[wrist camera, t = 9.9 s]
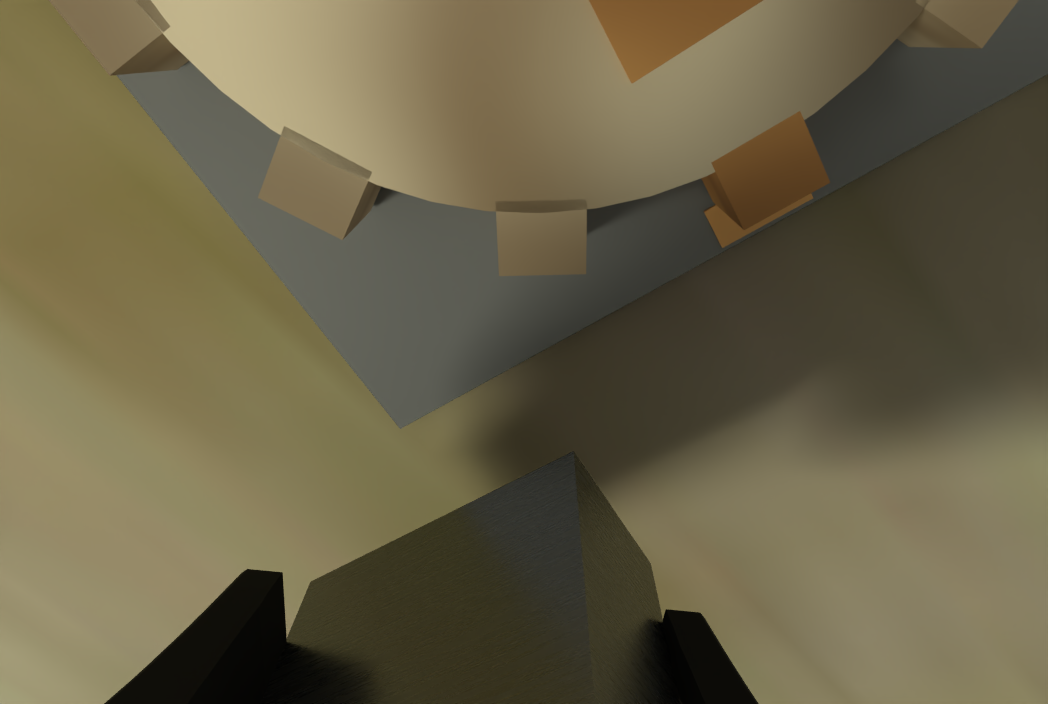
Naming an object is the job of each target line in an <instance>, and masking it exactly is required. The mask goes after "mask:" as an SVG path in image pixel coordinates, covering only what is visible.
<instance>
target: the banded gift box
mask: <svg viewBox="0 0 1048 704" xmlns="http://www.w3.org/2000/svg"><path fill="white" fill-rule="evenodd" d="M662 622H663V619H662V614H661V609H660V604H659V600H658V595H657V590H656V586H655V581H654V576H653V572H652V567H651V563H650V562H649V560H648V559H647V557H646V556H645V555H644V553H643V552H642V550H641V549H640V547H639V546H638V544H637V543H636V542H635V540H634V539H633V537H632V536H631V534H630V533H629V531H628V530H627V528H626V527H625V526H624V524H623V523H622V521H621V520H620V518H619V517H618V515H617V514H616V512H615V511H614V510H613V508H612V507H611V505H610V504H609V502H608V501H607V499H606V498H605V496H604V495H603V494H602V492H601V491H600V489H599V488H598V486H597V485H596V483H595V482H594V481H593V479H592V478H591V476H590V475H589V473H588V472H587V470H586V469H585V467H584V466H583V465H582V463H581V462H580V460H579V459H578V457H577V456H576V454H575V453H574V451H573V452H571V453H569V454H567V455H565V456H563V457H561V458H559V459H557V460H555V461H553V462H551V463H549V464H547V465H545V466H543V467H541V468H539V469H537V470H535V471H533V472H531V473H529V474H527V475H525V476H523V477H521V478H519V479H517V480H515V481H513V482H511V483H509V484H507V485H505V486H503V487H501V488H498V489H496V490H494V491H492V492H490V493H488V494H486V495H484V496H482V497H480V498H478V499H476V500H474V501H472V502H470V503H468V504H466V505H464V506H462V507H460V508H458V509H456V510H454V511H452V512H450V513H448V514H446V515H444V516H442V517H440V518H438V519H436V520H434V521H432V522H430V523H428V524H426V525H424V526H422V527H420V528H418V529H416V530H414V531H412V532H410V533H408V534H406V535H404V536H402V537H400V538H398V539H396V540H394V541H392V542H390V543H388V544H386V545H384V546H382V547H380V548H378V549H376V550H374V551H372V552H370V553H368V554H366V555H364V556H362V557H360V558H358V559H356V560H354V561H352V562H350V563H348V564H346V565H343V566H341V567H339V568H337V569H335V570H333V571H331V572H329V573H327V574H325V575H323V576H321V577H319V578H317V579H315V580H313V581H311V582H310V584H309V587H308V589H307V591H306V594H305V596H304V599H303V601H302V603H301V606H300V608H299V611H298V613H297V615H296V618H295V620H294V623H293V625H292V627H291V630H290V632H289V634H288V637H287V642H286V645H285V647H284V649H283V652H282V654H281V657H280V659H279V661H278V664H277V666H276V669H275V671H274V673H273V676H272V678H271V681H270V683H269V685H268V688H267V690H266V692H265V694H264V696H263V699H262V701H261V703H260V704H681V703H680V698H679V694H678V690H677V686H676V682H675V678H674V674H673V670H672V666H671V661H670V656H669V651H668V647H667V642H666V637H665V633H664V628H663V623H662Z"/></svg>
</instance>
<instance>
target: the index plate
mask: <svg viewBox="0 0 1048 704" xmlns="http://www.w3.org/2000/svg"><path fill="white" fill-rule="evenodd" d="M1047 74H1048V0H1018V2H1017V3H1016V4H1015V6H1014V7H1013V8H1012V10H1011V11H1010V12H1009V14H1008V15H1007V16H1006V18H1005V19H1004V20H1003V22H1002V23H1001V24H1000V25H999V27H998V28H997V29H996V31H995V32H994V33H993V35H992V36H991V37H990V39H989V40H988V41H987V43H986V44H985V45H984V47H983V48H935V47H908V46H907V45H905V44H904V43H902V42H901V41H899V40H898V39H896V40H895V41H894V42H893V43H892V44H891V45H890V46H889V47H888V48H887V49H886V50H885V51H884V52H883V53H882V54H881V55H880V56H879V57H878V58H877V59H876V60H875V62H874V63H873V64H872V65H871V66H870V67H869V68H868V69H867V70H866V71H865V72H863V73H862V74H861V75H860V76H859V77H857V78H856V79H855V80H854V81H853V82H851V83H850V84H849V85H848V86H847V87H845V88H844V89H843V90H842V91H841V92H839V93H838V94H837V95H836V96H835V97H833V98H832V99H831V100H830V101H829V102H827V103H826V104H825V105H824V106H823V107H821V108H820V109H819V110H818V111H817V112H815V113H814V114H813V115H811V116H810V117H808V118H807V119H805V120H804V121H805V124H806V126H807V128H808V131H809V133H810V135H811V138H812V140H813V143H814V145H815V147H816V150H817V152H818V154H819V157H820V159H821V162H822V164H823V166H824V169H825V171H826V173H827V176H828V178H829V181H830V183H829V184H827V185H825V186H823V187H821V188H820V189H818V190H816V191H814V192H812V193H811V194H809V195H807V196H805V197H803V198H802V199H800V200H798V201H796V202H794V203H793V204H791V205H789V206H787V207H785V208H784V209H782V210H780V211H778V212H776V213H774V214H773V215H771V216H769V217H767V218H765V219H764V220H762V221H760V222H758V223H756V224H755V225H753V226H751V227H749V228H747V229H746V230H743V229H742V228H741V227H740V226H739V225H738V224H737V223H736V222H734V221H733V220H732V219H731V218H730V217H729V216H728V215H727V214H726V213H725V212H723V211H722V210H721V209H720V208H719V207H718V206H717V205H716V204H715V203H714V202H713V201H712V199H711V197H710V195H709V193H708V191H707V189H706V187H705V185H704V183H703V181H702V179H698V180H695V181H692V182H689V183H687V184H684V185H681V186H678V187H675V188H673V189H670V190H667V191H664V192H662V193H659V194H656V195H653V196H650V197H645V198H641V199H636V200H632V201H627V202H623V203H618V204H614V205H609V206H605V207H600V208H595V209H587V242H586V274H571V275H527V276H499V264H498V243H497V222H496V212H495V211H482V210H477V209H471V208H465V207H459V206H453V205H447V204H442V203H436V202H431V201H427V200H424V199H421V198H418V197H414V196H411V195H408V194H404V193H401V192H398V191H395V190H391V189H388V188H385V187H382V186H381V189H380V191H379V193H378V195H377V198H376V200H375V202H374V204H373V207H372V209H371V211H370V212H369V213H368V214H367V215H366V216H365V217H364V218H363V219H362V220H361V221H360V222H359V224H358V225H357V226H356V227H355V228H354V229H353V230H352V231H351V232H350V233H349V234H348V235H347V236H346V237H345V238H344V239H343V240H341V239H339V238H337V237H335V236H333V235H331V234H329V233H327V232H325V231H323V230H321V229H319V228H317V227H315V226H313V225H311V224H309V223H307V222H305V221H303V220H301V219H299V218H297V217H295V216H293V215H291V214H289V213H287V212H285V211H283V210H281V209H279V208H277V207H275V206H273V205H271V204H269V203H267V202H265V201H263V200H261V199H259V198H258V196H259V193H260V190H261V188H262V185H263V182H264V179H265V177H266V174H267V171H268V169H269V166H270V163H271V160H272V158H273V155H274V152H275V150H276V147H277V144H278V141H279V139H280V136H281V135H279V134H278V133H276V132H274V131H273V130H271V129H270V128H269V127H267V126H266V125H265V124H263V123H262V122H261V121H259V120H258V119H257V118H256V117H254V116H253V115H252V114H250V113H249V112H248V111H246V110H245V109H244V108H243V107H241V106H240V105H239V104H237V103H236V102H235V101H233V100H232V99H231V98H230V97H228V96H227V95H226V94H224V93H223V92H222V91H220V90H219V89H218V88H217V87H216V86H215V85H214V84H213V83H212V82H211V81H210V80H209V79H208V78H207V77H206V76H205V75H204V74H203V73H202V72H201V71H200V70H199V69H198V68H196V67H195V66H194V65H193V64H192V63H191V62H190V61H188V62H187V63H185V64H184V65H183V66H181V67H180V68H179V69H178V70H170V71H158V72H146V73H134V74H122V75H117V76H118V78H119V79H120V80H121V81H122V83H123V84H124V85H125V86H126V88H127V89H128V90H129V91H130V93H131V94H132V95H133V96H134V98H135V99H136V100H137V101H138V102H139V104H140V105H141V106H142V107H143V109H144V110H145V111H146V112H147V114H148V115H149V116H150V117H151V119H152V120H153V121H154V122H155V124H156V125H157V126H158V127H159V129H160V130H161V131H162V132H163V134H164V135H165V136H166V137H167V139H168V140H169V141H170V142H171V144H172V145H173V146H174V147H175V149H176V150H177V151H178V152H179V154H180V155H181V156H182V157H183V159H184V160H185V161H186V162H187V164H188V165H189V166H190V167H191V169H192V170H193V171H194V172H195V174H196V175H197V176H198V177H199V179H200V180H201V181H202V182H203V184H204V185H205V186H206V187H207V189H208V190H209V191H210V192H211V194H212V195H213V196H214V197H215V199H216V200H217V201H218V202H219V204H220V205H221V206H222V207H223V208H224V210H225V211H226V212H227V213H228V215H229V216H230V217H231V218H232V220H233V221H234V222H235V223H236V225H237V226H238V227H239V228H240V230H241V231H242V232H243V233H244V235H245V236H246V237H247V238H248V240H249V241H250V242H251V243H252V245H253V246H254V247H255V248H256V250H257V251H258V252H259V253H260V255H261V256H262V257H263V258H264V260H265V261H266V262H267V263H268V265H269V266H270V267H271V268H272V270H273V271H274V272H275V273H276V275H277V276H278V277H279V278H280V280H281V281H282V282H283V283H284V285H285V286H286V287H287V288H288V290H289V291H290V292H291V293H292V295H293V296H294V297H295V298H296V300H297V301H298V302H299V303H300V305H301V306H302V307H303V308H304V310H305V311H306V312H307V313H308V314H309V316H310V317H311V318H312V319H313V321H314V322H315V323H316V324H317V326H318V327H319V328H320V329H321V331H322V332H323V333H324V334H325V336H326V337H327V338H328V339H329V341H330V342H331V343H332V344H333V346H334V347H335V348H336V349H337V351H338V352H339V353H340V354H341V356H342V357H343V358H344V359H345V361H346V362H347V363H348V364H349V366H350V367H351V368H352V369H353V371H354V372H355V373H356V374H357V376H358V377H359V378H360V379H361V381H362V382H363V383H364V384H365V386H366V387H367V388H368V389H369V391H370V392H371V393H372V394H373V396H374V397H375V398H376V399H377V401H378V402H379V403H380V404H381V406H382V407H383V408H384V409H385V411H386V412H387V413H388V414H389V416H390V417H391V418H392V419H393V420H394V422H395V423H396V424H397V425H398V427H399V428H400V429H401V428H402V427H404V426H406V425H408V424H410V423H412V422H413V421H415V420H417V419H419V418H421V417H423V416H424V415H426V414H428V413H430V412H432V411H434V410H435V409H437V408H439V407H441V406H443V405H445V404H446V403H448V402H450V401H452V400H454V399H455V398H457V397H459V396H461V395H463V394H465V393H466V392H468V391H470V390H472V389H474V388H476V387H477V386H479V385H481V384H483V383H485V382H487V381H488V380H490V379H492V378H494V377H496V376H497V375H499V374H501V373H503V372H505V371H507V370H508V369H510V368H512V367H514V366H516V365H518V364H519V363H521V362H523V361H525V360H527V359H529V358H530V357H532V356H534V355H536V354H538V353H539V352H541V351H543V350H545V349H547V348H549V347H550V346H552V345H554V344H556V343H558V342H560V341H561V340H563V339H565V338H567V337H569V336H571V335H572V334H574V333H576V332H578V331H580V330H582V329H583V328H585V327H587V326H589V325H591V324H592V323H594V322H596V321H598V320H600V319H602V318H603V317H605V316H607V315H609V314H611V313H613V312H614V311H616V310H618V309H620V308H622V307H624V306H625V305H627V304H629V303H631V302H633V301H634V300H636V299H638V298H640V297H642V296H644V295H645V294H647V293H649V292H651V291H653V290H655V289H656V288H658V287H660V286H662V285H664V284H666V283H667V282H669V281H671V280H673V279H675V278H676V277H678V276H680V275H682V274H684V273H686V272H687V271H689V270H691V269H693V268H695V267H697V266H698V265H700V264H702V263H704V262H706V261H708V260H709V259H711V258H713V257H715V256H717V255H719V254H720V253H722V252H724V251H726V250H728V249H729V248H731V247H733V246H735V245H737V244H739V243H740V242H742V241H744V240H746V239H748V238H750V237H751V236H753V235H755V234H757V233H759V232H761V231H762V230H764V229H766V228H768V227H770V226H771V225H773V224H775V223H777V222H779V221H781V220H782V219H784V218H786V217H788V216H790V215H792V214H793V213H795V212H797V211H799V210H801V209H803V208H804V207H806V206H808V205H810V204H812V203H814V202H815V201H817V200H819V199H821V198H823V197H824V196H826V195H828V194H830V193H832V192H834V191H835V190H837V189H839V188H841V187H843V186H845V185H846V184H848V183H850V182H852V181H854V180H856V179H857V178H859V177H861V176H863V175H865V174H866V173H868V172H870V171H872V170H874V169H876V168H877V167H879V166H881V165H883V164H885V163H887V162H888V161H890V160H892V159H894V158H896V157H898V156H899V155H901V154H903V153H905V152H907V151H908V150H910V149H912V148H914V147H916V146H918V145H919V144H921V143H923V142H925V141H927V140H929V139H930V138H932V137H934V136H936V135H938V134H940V133H941V132H943V131H945V130H947V129H949V128H951V127H952V126H954V125H956V124H958V123H960V122H961V121H963V120H965V119H967V118H969V117H971V116H972V115H974V114H976V113H978V112H980V111H982V110H983V109H985V108H987V107H989V106H991V105H993V104H994V103H996V102H998V101H1000V100H1002V99H1003V98H1005V97H1007V96H1009V95H1011V94H1013V93H1014V92H1016V91H1018V90H1020V89H1022V88H1024V87H1025V86H1027V85H1029V84H1031V83H1033V82H1035V81H1036V80H1038V79H1040V78H1042V77H1044V76H1045V75H1047Z"/></svg>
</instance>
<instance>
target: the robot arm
mask: <svg viewBox="0 0 1048 704" xmlns="http://www.w3.org/2000/svg"><path fill="white" fill-rule="evenodd" d="M662 623H663V628H664V633H665V637H666V642H667V647H668V651H669V656H670V661H671V666H672V670H673V674H674V678H675V682H676V686H677V690H678V694H679V698H680V703H681V704H758V702H757V701H756V699H755V698H754V696H753V695H752V693H751V692H750V690H749V689H748V687H747V686H746V684H745V682H744V681H743V679H742V678H741V676H740V675H739V673H738V671H737V670H736V668H735V667H734V665H733V664H732V662H731V660H730V659H729V657H728V656H727V654H726V652H725V651H724V649H723V648H722V646H721V644H720V643H719V641H718V639H717V638H716V636H715V634H714V633H713V631H712V630H711V628H710V626H709V625H708V623H707V621H706V620H705V618H704V617H703V616H702V614H701V613H698V612H688V611H677V610H667V609H666V611H665V614H664V618H663V622H662ZM286 642H287V639H286V623H285V606H284V589H283V573H282V572H272V571H261V570H251V569H247V570H245V571H244V572H243V573H241V574H240V575H239V576H238V577H237V578H236V579H235V580H234V581H233V582H232V583H231V584H230V585H229V586H228V587H227V588H226V590H225V591H224V592H223V593H222V594H221V595H220V596H219V597H218V598H217V599H216V600H215V601H214V602H213V603H212V604H211V605H210V606H209V607H208V608H207V609H206V610H205V611H204V612H203V613H202V614H201V615H200V616H199V617H198V618H197V619H196V620H195V621H194V622H193V623H192V624H191V625H190V626H189V627H188V628H187V629H186V630H185V631H184V632H183V633H181V634H180V635H179V636H178V637H177V638H176V639H175V640H174V641H173V642H172V643H171V644H170V645H169V646H168V647H167V648H166V649H165V650H163V651H162V652H161V653H160V654H159V655H158V656H157V657H156V658H155V659H154V660H153V661H152V662H151V663H150V664H149V665H148V666H146V667H145V668H144V669H143V670H142V671H141V672H140V673H139V674H138V675H137V676H136V677H134V678H133V679H132V680H131V681H130V682H129V683H128V684H126V685H125V686H124V687H123V688H122V689H121V690H119V691H118V692H117V693H116V694H115V695H114V696H113V697H111V698H110V699H109V700H108V701H107V702H106V703H104V704H260V703H261V701H262V699H263V696H264V694H265V692H266V690H267V688H268V685H269V683H270V681H271V678H272V676H273V673H274V671H275V669H276V666H277V664H278V661H279V659H280V657H281V654H282V652H283V649H284V647H285V645H286Z"/></svg>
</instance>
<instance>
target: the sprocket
mask: <svg viewBox="0 0 1048 704" xmlns="http://www.w3.org/2000/svg"><path fill="white" fill-rule="evenodd" d="M49 1H50V2H51V4H52V5H53V6H54V7H55V9H56V10H57V11H58V12H59V14H60V15H61V16H62V17H63V19H64V20H65V21H66V22H67V23H68V25H69V26H70V27H71V28H72V30H73V31H74V32H75V33H76V35H77V36H78V37H79V38H80V40H81V41H82V42H83V43H84V45H85V46H86V47H87V48H88V49H89V51H90V52H91V53H92V54H93V56H94V57H95V58H96V59H97V61H98V62H99V63H100V64H101V66H102V67H103V68H104V69H105V70H106V72H107V73H108V74H109V75H122V74H134V73H146V72H158V71H170V70H178V69H179V68H180V67H181V66H183V65H184V64H185V63H187V62H188V61H190V62H191V63H192V64H193V65H194V66H195V67H196V68H198V69H199V70H200V71H201V72H202V73H203V74H204V75H205V76H206V77H207V78H208V79H209V80H210V81H211V82H212V83H213V84H214V85H215V86H216V87H217V88H218V89H219V90H220V91H222V92H223V93H224V94H226V95H227V96H228V97H230V98H231V99H232V100H233V101H235V102H236V103H237V104H239V105H240V106H241V107H243V108H244V109H245V110H246V111H248V112H249V113H250V114H252V115H253V116H254V117H256V118H257V119H258V120H259V121H261V122H262V123H263V124H265V125H266V126H267V127H269V128H270V129H271V130H273V131H274V132H276V133H278V134H279V135H281V136H280V139H279V141H278V144H277V147H276V150H275V152H274V155H273V158H272V160H271V163H270V166H269V169H268V171H267V174H266V177H265V179H264V182H263V185H262V188H261V190H260V193H259V196H258V198H259V199H261V200H263V201H265V202H267V203H269V204H271V205H273V206H275V207H277V208H279V209H281V210H283V211H285V212H287V213H289V214H291V215H293V216H295V217H297V218H299V219H301V220H303V221H305V222H307V223H309V224H311V225H313V226H315V227H317V228H319V229H321V230H323V231H325V232H327V233H329V234H331V235H333V236H335V237H337V238H339V239H341V240H343V239H344V238H345V237H346V236H347V235H348V234H349V233H350V232H351V231H352V230H353V229H354V228H355V227H356V226H357V225H358V224H359V222H360V221H361V220H362V219H363V218H364V217H365V216H366V215H367V214H368V213H369V212H370V211H371V209H372V207H373V204H374V202H375V200H376V198H377V195H378V193H379V191H380V189H381V186H382V187H385V188H388V189H391V190H395V191H398V192H401V193H404V194H408V195H411V196H414V197H418V198H421V199H424V200H427V201H431V202H436V203H442V204H447V205H453V206H459V207H465V208H471V209H477V210H482V211H495V212H496V222H497V243H498V264H499V276H527V275H571V274H586V242H587V209H595V208H600V207H605V206H609V205H614V204H618V203H623V202H627V201H632V200H636V199H641V198H645V197H650V196H653V195H656V194H659V193H662V192H664V191H667V190H670V189H673V188H675V187H678V186H681V185H684V184H687V183H689V182H692V181H695V180H698V179H702V181H703V183H704V185H705V187H706V189H707V191H708V193H709V195H710V197H711V199H712V201H713V202H714V203H715V204H716V205H717V206H718V207H719V208H720V209H721V210H722V211H723V212H725V213H726V214H727V215H728V216H729V217H730V218H731V219H732V220H733V221H734V222H736V223H737V224H738V225H739V226H740V227H741V228H742V229H743V230H746V229H747V228H749V227H751V226H753V225H755V224H756V223H758V222H760V221H762V220H764V219H765V218H767V217H769V216H771V215H773V214H774V213H776V212H778V211H780V210H782V209H784V208H785V207H787V206H789V205H791V204H793V203H794V202H796V201H798V200H800V199H802V198H803V197H805V196H807V195H809V194H811V193H812V192H814V191H816V190H818V189H820V188H821V187H823V186H825V185H827V184H829V183H830V181H829V178H828V176H827V173H826V171H825V169H824V166H823V164H822V162H821V159H820V157H819V154H818V152H817V150H816V147H815V145H814V143H813V140H812V138H811V135H810V133H809V131H808V128H807V126H806V124H805V121H804V120H805V119H807V118H808V117H810V116H811V115H813V114H814V113H815V112H817V111H818V110H819V109H820V108H821V107H823V106H824V105H825V104H826V103H827V102H829V101H830V100H831V99H832V98H833V97H835V96H836V95H837V94H838V93H839V92H841V91H842V90H843V89H844V88H845V87H847V86H848V85H849V84H850V83H851V82H853V81H854V80H855V79H856V78H857V77H859V76H860V75H861V74H862V73H863V72H865V71H866V70H867V69H868V68H869V67H870V66H871V65H872V64H873V63H874V62H875V60H876V59H877V58H878V57H879V56H880V55H881V54H882V53H883V52H884V51H885V50H886V49H887V48H888V47H889V46H890V45H891V44H892V43H893V42H894V41H895V40H896V39H898V40H899V41H901V42H902V43H904V44H905V45H907V46H908V47H935V48H983V47H984V45H985V44H986V43H987V41H988V40H989V39H990V37H991V36H992V35H993V33H994V32H995V31H996V29H997V28H998V27H999V25H1000V24H1001V23H1002V22H1003V20H1004V19H1005V18H1006V16H1007V15H1008V14H1009V12H1010V11H1011V10H1012V8H1013V7H1014V6H1015V4H1016V3H1017V2H1018V0H49Z"/></svg>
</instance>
